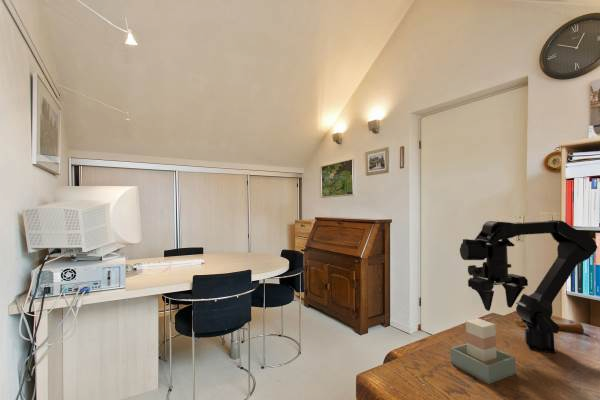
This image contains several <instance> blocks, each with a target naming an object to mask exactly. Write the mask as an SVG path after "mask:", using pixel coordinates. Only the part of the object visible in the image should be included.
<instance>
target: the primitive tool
mask: <svg viewBox="0 0 600 400" xmlns="http://www.w3.org/2000/svg"><path fill="white" fill-rule="evenodd" d="M514 323H515V324H516V326H517V327H520V328H526V323H523V321H522V320H516V321H514ZM556 324H557V325H558V326H559V327H560V328H559V331H558V332H570V333H577V334H580V335H584V333H585V329H584V327H583V325H582V324H581V323H576V324H571V323H570V324H568V323H556Z"/></svg>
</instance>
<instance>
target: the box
mask: <svg viewBox="0 0 600 400" xmlns="http://www.w3.org/2000/svg"><path fill="white" fill-rule="evenodd" d="M449 350H450V364H452V365H454V366H455V367H457V368H459V369H461V370H462V371H464V372H466V373H469V374H470V375H472V376H473V377H475V378H477V379H479V380H480V381H483V382H485V383H486V384H488V385H490V384H493V383H495V382H498V381H500V380H503V379H505V378H508V377H510V376H513V375H516V374H517V370H516V367H517V366H516V357H515V356H513V355H511V354H508V353H506V352H503V351H501V350H499V349H497V348H496V356H497V362H496V363H493V364H490V365H486V364H484V363H482V362H479V361H477V360H475V359H473V358H471V357H469V356H467V342H466V343H462V344H459V345H456V346H453V347H450V348H449Z"/></svg>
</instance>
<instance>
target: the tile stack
mask: <svg viewBox="0 0 600 400" xmlns="http://www.w3.org/2000/svg"><path fill="white" fill-rule="evenodd" d="M496 334H497V333H496V324H495V323H493V322H489V321H487V320H484V319H481V318H479V317H475V318H473V319H468V320H465V335H466V343H467V356H469V357H471V358H473V359H475V360H477V361H479V362H482V363H484V364H486V365H490V364H493V363H496V362H497V356H496V349H497V337H496V336H497V335H496Z"/></svg>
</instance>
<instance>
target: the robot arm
mask: <svg viewBox="0 0 600 400" xmlns="http://www.w3.org/2000/svg"><path fill="white" fill-rule="evenodd" d="M539 234H540V235H541V234H543V235H544V234H550V235H551V236H552V239H553V240H554V241H556V242H557V243H558V244H557V256H556V259H555V260H554V262H553V263H552V265H551V266H550V268H549V269H548V271H547V272H546V274H545V276H544V277H543V278H542V280H541V281H540V283H539V284H538V286H537V288H536V289H535V290H534V291H533V293H531V294H528V295H527V294H525V293H523V294H522V295H521V297H520V299H519V300H518V301H517V299H518V297H519V296H520V294H521V293H522V291H523V290H525V287H528V285H529V282H528V278H527V277H526V276H524V275H519V274H514V273H509V269H510V268H512V263H508V261H509V260H508V247H515V244H514V243H513V242H512V241H510V239H513V238H515V237H517V236H521V235H522V236H524V235H539ZM597 249H598V244H597V243H596V240H595V239H594V238H593V237H590V236H588V235H586V234H585V233H584V232H582V231H581V230H578V229H576V228H575V227H572V226H570V225H569V224H568V223H567V222H565V221H563V220H554V219H553V220H552V219H551V220H547V221H529V222H528V221H527V222H515V223H514V222H506V221H497V220H496V221H493V220H488V221H485V222H484V224H483V225H482V227H481V230H480V231H479V232H478V234H477V236H476V237H475V238H474V239H469V238H463V239H462V243H461V244H460V247H459V254H460V257H461V259H462V260H464V261H483V262H482V266H478V267H477V265H475V264H473V265H472V264H471V265H467V272H468V275H469V276H472V277H470V278H468V279H467V286H468V288H470V289H472V290H474V291H476V292H477V293H478V295H479V297H480V299H481V302H482V304H483V306H484V309H485V310H486V311H488V312H489V311H491V307H492V303H493V300H494V295H495V290H493V289H494V286H500V285H501V286H502V287H503V288H504V289H505V291H504V292H505V301H506V305H507V308H511V309H512V307H513V306H514V305H515V304H516V305H517V306H516V308H515V310H516V313H517V315H518V317H519V318H520V319H521V321H523V323H526V327H525V328H524V331H523V332H524V342H525V344H526V345H527V346H528V348H529V349H530V350H532V351H539V352H544V353H545V352H546V353H551V354H557V350H556V349H555V334H558V333H559V332H560V331H559V328H560V327H559V326H558V325H557V324H558V323H557V322H555V321H554V320H553V319H552V315H553V302H554V300H555V299H556V298H557V296H558V295H559V293H560V292H561V289H562V288H563V287H564V285H565V284H566V282H568V281H567V280H568V279H569V278H570V276H571V274H572V273H573V272H574V270H575V269H576V267H577V266H578V265H579V264H581V263H583V262H585V261H587V260H588V259H590V258H591V257H592V256H593V255H594V254H595V253H596V251H597ZM484 260H486V261H484ZM516 301H517V302H516Z"/></svg>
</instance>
